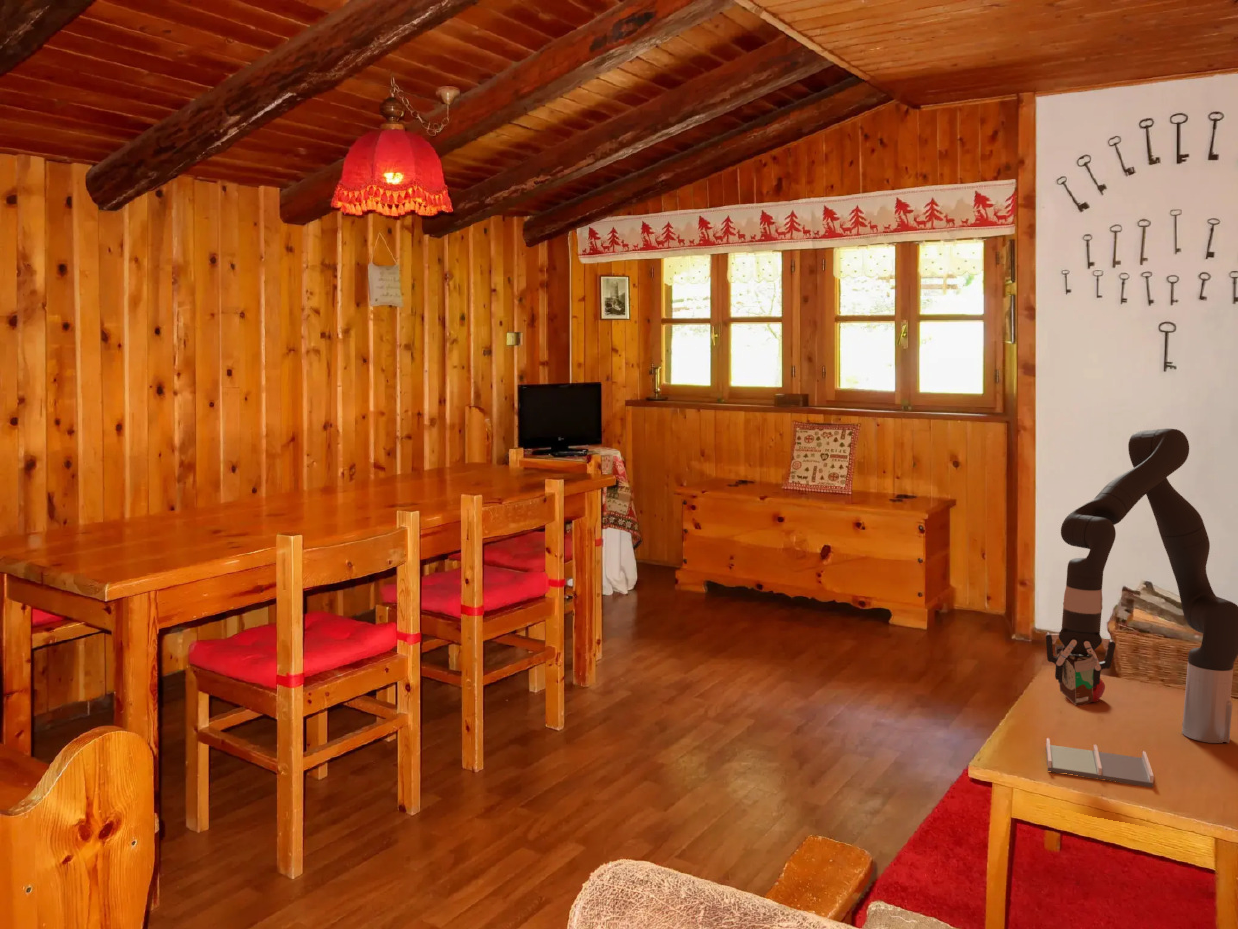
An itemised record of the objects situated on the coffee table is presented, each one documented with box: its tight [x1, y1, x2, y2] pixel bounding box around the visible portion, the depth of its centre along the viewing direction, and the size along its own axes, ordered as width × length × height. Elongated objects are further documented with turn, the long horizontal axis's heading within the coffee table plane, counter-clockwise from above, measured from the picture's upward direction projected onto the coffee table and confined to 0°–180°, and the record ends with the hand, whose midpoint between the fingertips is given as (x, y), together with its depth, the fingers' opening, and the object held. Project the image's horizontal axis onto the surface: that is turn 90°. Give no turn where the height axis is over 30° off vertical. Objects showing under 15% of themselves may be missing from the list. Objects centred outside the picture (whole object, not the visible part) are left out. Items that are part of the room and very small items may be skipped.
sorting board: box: [1045, 737, 1155, 788], centre depth 222 cm, size 20×14×2 cm
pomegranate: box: [1091, 678, 1106, 703], centre depth 266 cm, size 10×10×9 cm
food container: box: [1054, 645, 1097, 707], centre depth 222 cm, size 12×6×10 cm, turn 176°
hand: (1076, 683), depth 222 cm, fingers closed on food container, 6 cm apart
